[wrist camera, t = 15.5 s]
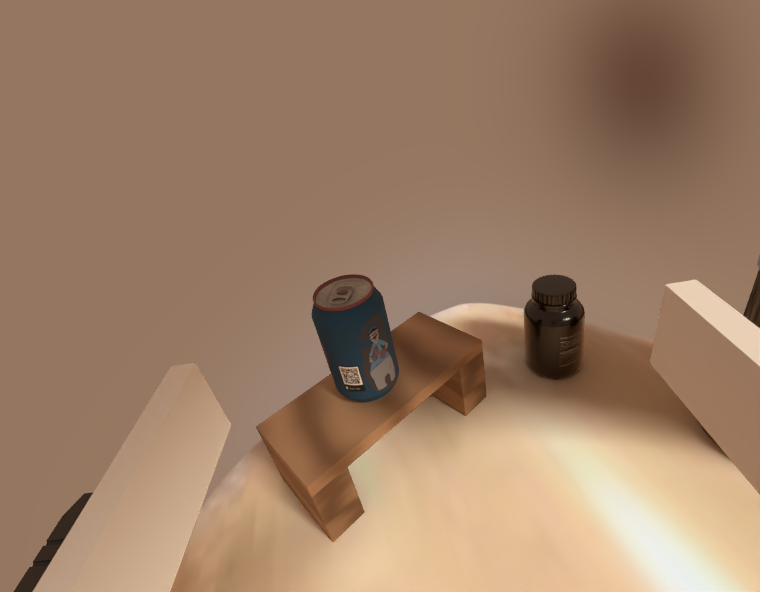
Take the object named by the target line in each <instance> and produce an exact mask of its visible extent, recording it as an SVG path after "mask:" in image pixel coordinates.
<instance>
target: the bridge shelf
mask: <svg viewBox="0 0 760 592" xmlns="http://www.w3.org/2000/svg"><path fill="white" fill-rule="evenodd" d="M391 336H392V340H393V344H394V349H395V353H396V357H397V362H398V366H399V375H398V379H397V381H396V383H395V385H394V387H393V388H392V390H391V391H390V392H389V394H387V395H386V396H385V397H383V398H382V399H380V400H378V401H375V402H371V403H358V402H354V401H352V400H350V399H348V398H347V397H345V396H343V395H342V394H341V393H340V392H339V391H338V390H337V388H336V385H335V383H334V380H333V377H332V374H330V375H329V376H327V377H326V378H325V379H323V380H322V381H320V382H319V383H317V384H316V385H315V386H313V387H312V388H310V389H309V390H308V391H306V392H305V393H303V394H302V395H300V396H299V397H298V398H296V399H295V400H294V401H292V402H291V403H289V404H288V405H286V406H285V407H283V408H282V409H281V410H279V411H278V412H276V413H275V414H274V415H272V416H271V417H269V418H268V419H266V420H265V421H264V422H262V423H261V424H259V425H258V426H257V427H256V428H257V430H258V432H259V433H260V435H261V437H262V439H263V441H264V443H265V445H266V447H267V449H268V451H269V453H270V454H271V456H272V458H273V460H274V462H275V464H276V466H277V468H278V470H279V472H280V473H281V475H282V477H283V479H284V481H285V482H286V483H287V484H288V486H289V487H290V488H291V489H292V491H293V492H294V493H295V494H296V496H297V497H298V498H299V499H300V501H301V502H302V503H303V505H304V506H305V507H306V508H307V510H308V511H309V512H310V513H311V515H312V516H313V517H314V518H315V520H316V521H317V522H318V523H319V525H320V526H321V527H322V529H323V530H324V531H325V532H326V534H327V535H328V536H329V537H330V539H331V540H332V541H333V542H334V541H335V540H336V539H337V538H338V537H339V536H340V535H341V534H342V533H343V532H344V531H345V530H346V529H347V528H349V527H350V526H351V525H352V524H353V523H354V522H355V521H356V520H357V519H358V518H359V517H360V516H361V515H362V514H363V513H364V510H363V507H362V504H361V502H360V499H359V497H358V494H357V491H356V489H355V486H354V483H353V481H352V478H351V476H350V473H349V470H348V468H347V467H348V466H349V465H350V464H351V463H352V462H354V461H355V460H356V459H357V458H358V457H359V456H361V455H362V454H363V453H364V452H365V451H366V450H367V449H369V448H370V447H371V446H372V445H373V444H374V443H376V442H377V441H378V440H379V439H380V438H381V437H383V436H384V435H385V434H386V433H387V432H388V431H390V430H391V429H392V428H393V427H394V426H395V425H396V424H398V423H399V422H400V421H401V420H402V419H403V418H405V417H406V416H407V415H408V414H409V413H410V412H412V411H413V410H414V409H415V408H416V407H417V406H419V405H420V404H421V403H422V402H423V401H424V400H425V399H427V398H428V397H429V396H430V395H431V394H432V395H433V396H435V397H437V398H438V399H440V400H441V401H443V402H445V403H446V404H448V405H449V406H451V407H452V408H454V409H456V410H457V411H459V412H460V413H462V414H464V415H465V416H466V415H467V414H468V413H469V412H470V411H471V410H472V409H473V408H474V407H475V406H477V405H478V404H479V403H480V402H481V401H482V400H483V399H484V398H485V397H486V387H485V375H484V363H483V351H482V340H480V339H478V338H475V337H473V336H471V335H469V334H467V333H464V332H462V331H460V330H458V329H456V328H453V327H451V326H449V325H447V324H445V323H443V322H440V321H438V320H436V319H434V318H432V317H429V316H427V315H425V314H423V313H421V312H418V313H416V314H415V315H414V316H412V317H411V318H409V319H408V320H406V321H405V322H404V323H402V324H401V325H399V326H398V327H397V328H395V329H394V330H392V331H391Z"/></svg>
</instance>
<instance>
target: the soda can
mask: <svg viewBox="0 0 760 592" xmlns="http://www.w3.org/2000/svg"><path fill="white" fill-rule="evenodd" d="M313 302H314V305H313V309H312V319H313V321H314V325H315V327H316V330H317V333H318V336H319V339H320V342H321V345H322V348H323V351H324V354H325V356H326V359H327V362H328V365H329V368H330V371H331V374H332V377H333V380H334V383H335V385H336V388H337V390H338V391H339V392H340V393H341V394H342V395H343V396H345V397H347V398H348V399H350V400H352V401H354V402H358V403H371V402H375V401H378V400H380V399H382V398H383V397H385V396H386V395H387V394H389V392H390V391H391V390H392V388H393V387H394V385H395V383H396V381H397V379H398V375H399V366H398V362H397V357H396V353H395V349H394V344H393V340H392V336H391V331H390V327H389V323H388V319H387V314H386V310H385V306H384V301H383V297H382V295H381V293H380V292H379V291H378V290H377V289H376V288H375V287H374V286H373V283H372V281H371V280H370V279H369V278H368V277H366V276H362V275H344V276H340V277H336V278H334V279H331V280H329V281H327V282H325V283H323V284H322V285H320V286H319V287H318V288H317V289H316V291H315V292H314V295H313Z"/></svg>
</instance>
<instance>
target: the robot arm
mask: <svg viewBox="0 0 760 592" xmlns="http://www.w3.org/2000/svg"><path fill="white" fill-rule="evenodd" d="M757 265H758V266H759V271H758V274H757V277H756V280H755V283H754V286H753V289H752V292H751V294H750V297H749V300H748V303H747V306H746V309H745V312H744V315H741V314H740V313H739V312H737V311H736V310H735V309H734V308H732V307H731V306H730V305H729V304H727V303H726V302H724V301H723V300H722V299H721V298H719V297H718V296H717V295H715V294H714V293H713V292H711V291H710V290H709V289H707V288H706V287H705V286H704V285H702V284H701V283H700V282H698V281H697V280H690V281H684V282H678V283H673V284H666V285H665V288H664V293H663V299H662V303H661V309H660V314H659V319H658V324H657V329H656V334H655V339H654V344H653V349H652V354H651V359H650V364H651V365H652V366H653V367H654V369H655V370H656V371H657V372H658V373H659V375H660V376H661V377H662V378H663V379H664V381H665V382H666V383H667V384H668V385H669V387H670V388H671V389H672V390H673V391H674V393H675V394H676V395H677V396H678V397H679V399H680V400H681V401H682V402H683V403H684V404H685V406H686V407H687V408H688V409H689V410H690V412H691V413H692V414H693V415H694V416H695V418H696V419H697V420H698V421H699V422H700V424H701V426H702V427H703V429H704V430H705V431H706V432H707V434H708V435H709V436H710V437H711V438H712V439H713V440H714V441H715V442H716V443H717V444H718V445H719V446H720V448H721V449H722V450H723V451H724V452H725V454H726V455H727V456H728V457H729V458H730V460H731V461H732V462H733V463H734V464H735V466H736V467H737V468H738V469H739V470H740V472H741V473H742V474H743V475H744V476H745V478H746V479H747V480H748V481H749V482H750V484H751V485H752V486H753V487H754V488H755V490H756V491H757V492H758V493H759V494H760V256H759V259H758V263H757ZM230 427H231V424H230V422H229V420H228V418H227V417H226V415H225V413H224V412H223V410H222V408H221V406H220V405H219V403H218V401H217V399H216V398H215V396H214V394H213V393H212V391H211V389H210V387H209V385H208V384H207V382H206V380H205V378H204V377H203V375H202V373H201V372H200V370H199V368H198V366H197V365H196V363H195V362H194V363H188V364H182V365H176V366H171V367H170V368H169V370H168V372H167V373H166V375H165V376H164V378H163V380H162V381H161V383H160V385H159V386H158V388H157V389H156V391H155V393H154V394H153V396H152V398H151V399H150V401H149V403H148V404H147V406H146V407H145V409H144V411H143V412H142V414H141V416H140V417H139V419H138V421H137V422H136V424H135V425H134V427H133V429H132V430H131V432H130V434H129V435H128V437H127V439H126V440H125V442H124V443H123V445H122V447H121V448H120V450H119V451H118V453H117V455H116V456H115V458H114V460H113V461H112V463H111V465H110V466H109V468H108V470H107V471H106V473H105V474H104V476H103V478H102V479H101V481H100V482H99V484H98V486H97V488H96V489H95V491H94V492H93V493H86V494H84V495H83V496H82V497H81V498H80V499H79V500H78V501H77V502H76V503H75V504H74V505H73V506H72V507H71V508H70V509H69V510H68V511H67V512H66V513H65V514H64V515H63V516H62V518H61V519H60V521H59V522H58V524H57V526H56V527H55V529H54V531H53V532H52V533H51V535H50V536H49V538H48V539H47V544H46V546H43V547H42V549H41V550H40V552H39V553H38V555H37V557H36V558H35V560H34V561H33V566H32V567H30V568H29V569H28V571H27V572H26V573H25V575H24V577H23V578H22V580H21V581H20V583H19V584H18V586H17V588H16V589H15V591H14V592H170V591H171V588H172V586H173V583H174V580H175V577H176V575H177V572H178V569H179V566H180V564H181V561H182V558H183V556H184V553H185V550H186V547H187V545H188V542H189V539H190V536H191V534H192V531H193V528H194V525H195V523H196V520H197V517H198V515H199V512H200V509H201V506H202V504H203V501H204V498H205V495H206V493H207V490H208V487H209V484H210V482H211V479H212V476H213V473H214V470H215V468H216V465H217V463H218V460H219V457H220V454H221V452H222V449H223V446H224V443H225V441H226V438H227V435H228V433H229V430H230Z"/></svg>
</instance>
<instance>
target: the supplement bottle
mask: <svg viewBox="0 0 760 592" xmlns="http://www.w3.org/2000/svg"><path fill="white" fill-rule="evenodd" d="M576 298H577V294H576V283H575V282H574V281H573V280H572V279H570V278H568V277H566V276H562V275H546V276H542V277H540V278H538V279H537V280H535V281H534V282H533V284H532V298H531V299H530V300H529V301H528V302H527V304H526V306H525V308H524V332H525V357H526V362H527V365H528V366H529V368H530V369H531V370H532V371H534V372H535V373H537V374H538V375H541V376H543V377H547V378H554V379H558V378H565V377H568V376H571V375H573V374H574V373H576V372H577V371H578V370H579V368H580V367H581V364H582V353H583V336H584V318H585V312H584V307H583V305H582V304H581V303H580V301H579V300H578V299H576Z"/></svg>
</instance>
